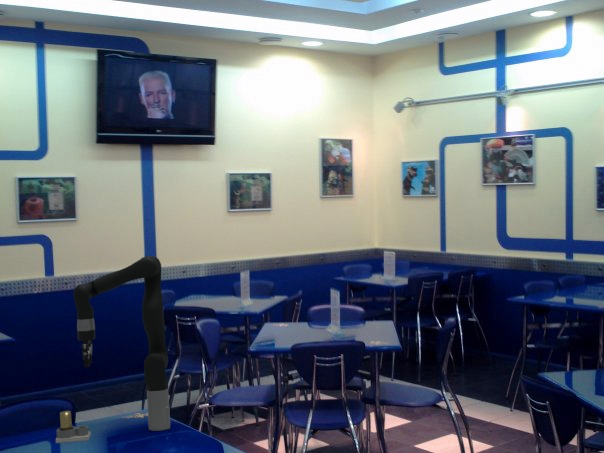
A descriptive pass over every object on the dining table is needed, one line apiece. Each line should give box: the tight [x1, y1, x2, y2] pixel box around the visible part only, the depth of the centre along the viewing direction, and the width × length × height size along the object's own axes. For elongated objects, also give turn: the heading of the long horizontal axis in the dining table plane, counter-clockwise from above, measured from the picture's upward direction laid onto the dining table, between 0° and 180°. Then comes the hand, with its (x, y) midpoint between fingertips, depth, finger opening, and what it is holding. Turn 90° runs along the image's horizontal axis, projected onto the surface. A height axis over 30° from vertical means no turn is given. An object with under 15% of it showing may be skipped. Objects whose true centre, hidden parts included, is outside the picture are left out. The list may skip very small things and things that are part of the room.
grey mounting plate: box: [55, 425, 92, 444], centre depth 326 cm, size 13×9×4 cm
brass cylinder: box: [59, 410, 73, 431], centre depth 326 cm, size 4×4×10 cm
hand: (88, 365), depth 341 cm, fingers open, 8 cm apart
